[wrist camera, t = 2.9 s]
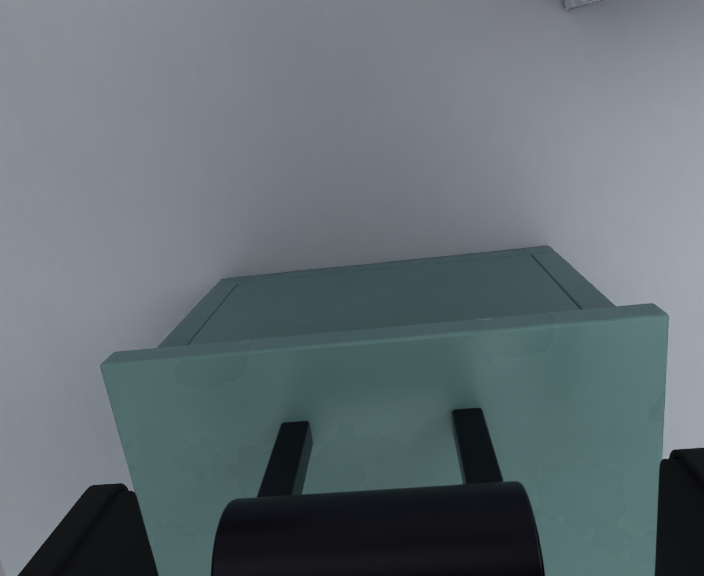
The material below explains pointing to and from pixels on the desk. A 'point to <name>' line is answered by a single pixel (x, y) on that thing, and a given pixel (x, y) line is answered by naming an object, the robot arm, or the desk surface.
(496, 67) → the desk surface
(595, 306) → the open box
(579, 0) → the stack of papers
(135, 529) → the robot arm
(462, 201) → the desk surface
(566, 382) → the box lid
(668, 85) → the desk surface
